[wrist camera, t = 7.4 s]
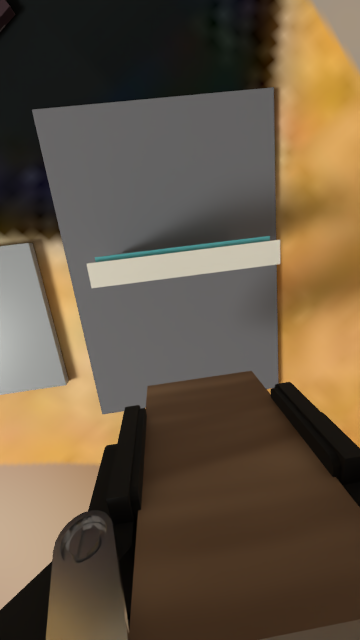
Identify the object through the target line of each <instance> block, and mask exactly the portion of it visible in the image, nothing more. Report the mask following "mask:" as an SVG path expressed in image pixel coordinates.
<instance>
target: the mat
mask: <svg viewBox="0 0 360 640" xmlns="http://www.w3.org/2000/svg"><path fill="white" fill-rule="evenodd" d="M32 112H33V116H34V121H35V125H36V129H37V134H38V138H39V142H40V147H41V151H42V155H43V160H44V164H45V168H46V173H47V177H48V181H49V186H50V190H51V194H52V199H53V203H54V207H55V211H56V216H57V220H58V224H59V229H60V233H61V237H62V242H63V246H64V250H65V255H66V259H67V263H68V268H69V272H70V276H71V281H72V285H73V289H74V294H75V298H76V302H77V307H78V311H79V315H80V320H81V324H82V328H83V333H84V337H85V341H86V345H87V350H88V354H89V358H90V363H91V367H92V371H93V376H94V380H95V384H96V389H97V393H98V397H99V402H100V406H101V410H102V414H108V413H114V412H121V411H124V410H125V407H128V406H135V405H140V408H146V398H147V386H151V385H158V384H164V383H171V382H178V381H185V380H192V379H198V378H205V377H212V376H219V375H226V374H232V373H239V372H246V371H252V372H253V373H254V374H255V376H256V377H257V378H258V379H259V381H260V382H261V383H262V384H263V386H264V387H265V388H266V389H270V388H274V387H275V385H276V384H278V327H277V265H269V266H261V267H253V268H246V269H238V270H230V271H222V272H215V273H207V274H199V275H191V276H184V277H176V278H168V279H160V280H153V281H145V282H137V283H129V284H122V285H114V286H106V287H98V288H91V283H90V278H89V274H88V269H87V263H92V262H95V257H100V256H107V255H113V254H120V253H128V252H136V251H144V250H153V249H161V248H169V247H177V246H185V245H193V244H202V243H210V242H218V241H226V240H235V239H245V238H254V237H264V236H270V240H276V200H275V136H274V87H273V88H262V89H251V90H241V91H230V92H219V93H208V94H197V95H186V96H176V97H165V98H154V99H143V100H132V101H122V102H111V103H100V104H89V105H78V106H68V107H57V108H46V109H35V110H32Z"/></svg>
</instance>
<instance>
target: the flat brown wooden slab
mask: <svg viewBox="0 0 360 640" xmlns="http://www.w3.org/2000/svg"><path fill="white" fill-rule="evenodd" d="M146 414H147V423H146V439H145V455H144V471H143V487H142V503H141V510H138V519H137V533H136V546H135V560H134V573H133V587H132V600H131V614H130V628H129V637H130V640H260V639H265V638H270V637H275V636H280V635H285V634H290V633H295V632H300V631H305V630H310V629H315V628H320V627H325V626H330V625H335V624H340V623H345V622H349V621H354V620H359V619H360V507H359V506H358V505H357V503H356V502H355V501H354V500H353V498H352V497H351V496H350V494H349V493H348V492H347V491H346V489H345V488H344V487H343V486H342V484H341V483H340V482H339V481H338V479H337V478H336V477H332V476H331V474H330V473H329V472H328V470H327V469H326V468H325V467H324V465H323V464H322V463H321V461H320V460H319V459H318V458H317V456H316V455H315V454H314V452H313V451H312V450H311V449H310V447H309V446H308V445H307V443H306V442H305V441H304V440H303V438H302V437H301V436H300V434H299V433H298V432H297V430H296V429H295V428H294V427H293V425H292V424H291V423H290V421H289V420H288V419H287V418H286V416H285V415H284V414H283V412H282V411H281V410H280V409H279V407H278V406H277V405H276V403H275V402H274V401H273V400H272V398H271V395H270V393H269V392H268V391H267V389H266V388H265V387H264V386H263V384H262V383H261V382H260V381H259V379H258V378H257V377H256V376H255V374H254V373H253V372H252V371H246V372H239V373H232V374H226V375H219V376H212V377H205V378H198V379H192V380H185V381H178V382H171V383H164V384H158V385H151V386H147V398H146Z"/></svg>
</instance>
